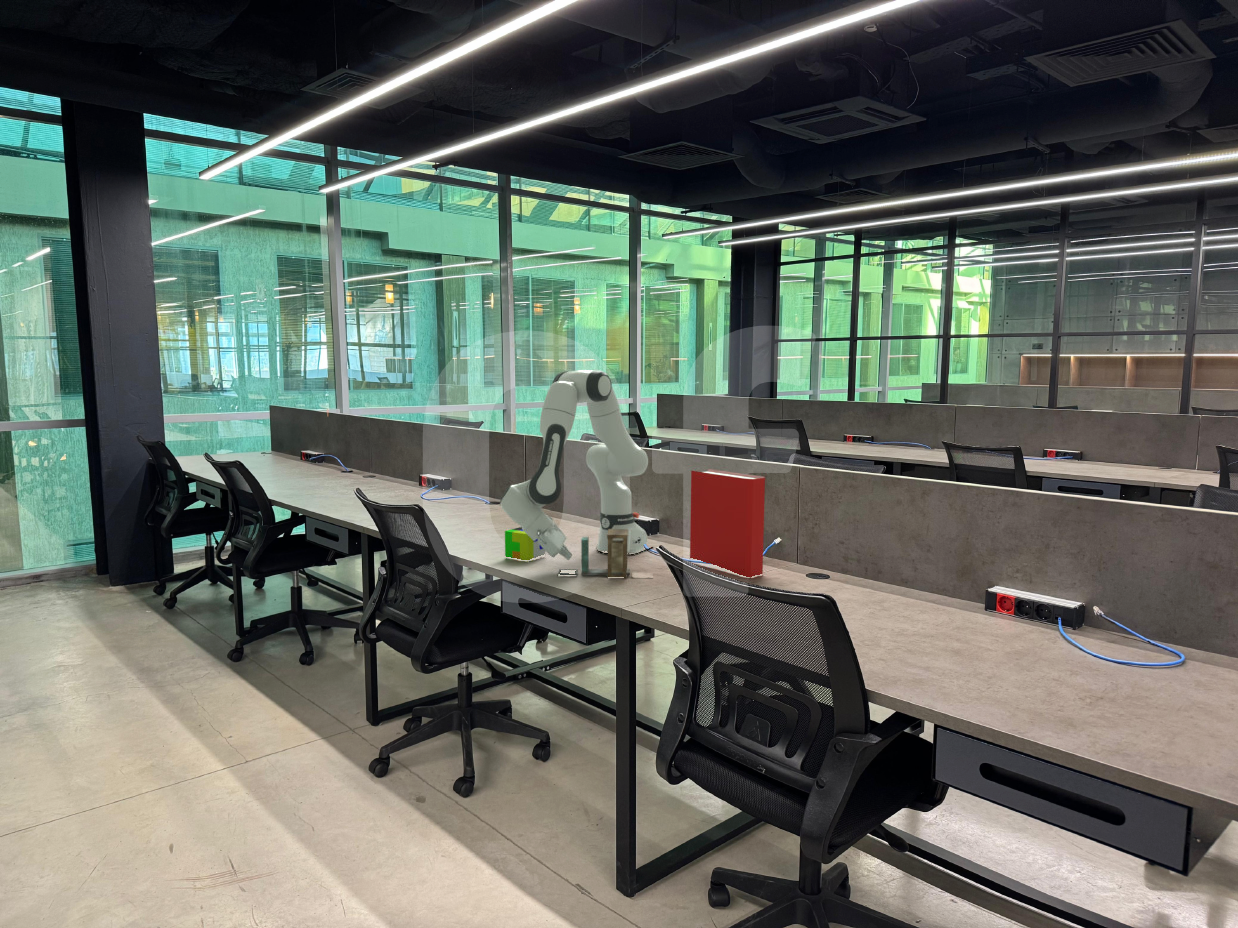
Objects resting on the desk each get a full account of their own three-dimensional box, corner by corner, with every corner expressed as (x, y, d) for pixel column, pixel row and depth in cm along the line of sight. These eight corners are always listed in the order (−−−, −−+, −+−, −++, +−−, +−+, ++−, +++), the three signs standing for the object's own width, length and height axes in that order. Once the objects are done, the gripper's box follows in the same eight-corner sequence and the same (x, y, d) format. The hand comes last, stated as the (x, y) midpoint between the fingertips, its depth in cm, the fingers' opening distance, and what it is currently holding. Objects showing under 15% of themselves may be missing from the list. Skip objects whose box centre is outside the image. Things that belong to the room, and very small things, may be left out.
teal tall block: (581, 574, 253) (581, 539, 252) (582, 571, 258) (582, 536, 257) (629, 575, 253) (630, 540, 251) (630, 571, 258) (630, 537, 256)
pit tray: (557, 576, 253) (557, 573, 253) (559, 572, 259) (559, 569, 259) (576, 577, 253) (576, 573, 253) (577, 572, 259) (577, 569, 259)
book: (689, 562, 273) (691, 470, 269) (706, 559, 278) (708, 468, 274) (748, 579, 251) (750, 479, 248) (765, 575, 256) (768, 477, 252)
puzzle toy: (545, 557, 280) (545, 529, 279) (527, 562, 272) (527, 534, 271) (523, 553, 286) (523, 526, 285) (505, 559, 277) (504, 530, 276)
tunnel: (606, 578, 251) (607, 534, 249) (608, 571, 260) (608, 528, 258) (627, 578, 251) (627, 534, 249) (627, 571, 260) (628, 529, 258)
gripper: (542, 527, 244) (574, 558, 245) (550, 515, 264) (579, 544, 265) (528, 541, 244) (560, 572, 245) (537, 528, 265) (566, 557, 266)
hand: (570, 557), depth 255 cm, fingers closed
